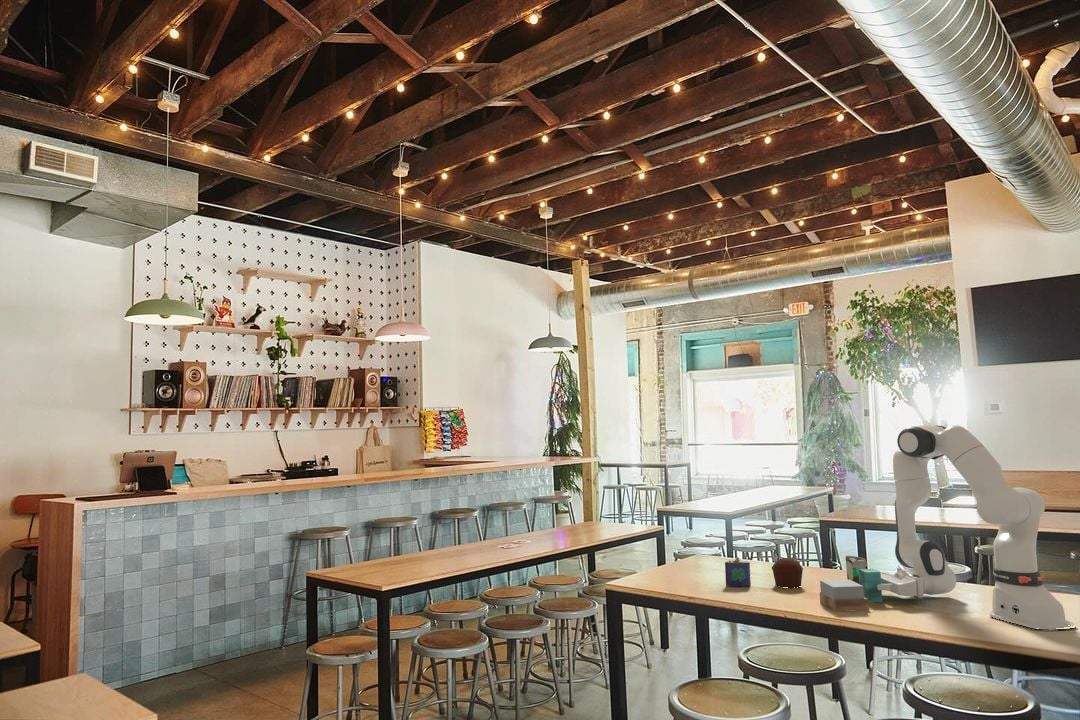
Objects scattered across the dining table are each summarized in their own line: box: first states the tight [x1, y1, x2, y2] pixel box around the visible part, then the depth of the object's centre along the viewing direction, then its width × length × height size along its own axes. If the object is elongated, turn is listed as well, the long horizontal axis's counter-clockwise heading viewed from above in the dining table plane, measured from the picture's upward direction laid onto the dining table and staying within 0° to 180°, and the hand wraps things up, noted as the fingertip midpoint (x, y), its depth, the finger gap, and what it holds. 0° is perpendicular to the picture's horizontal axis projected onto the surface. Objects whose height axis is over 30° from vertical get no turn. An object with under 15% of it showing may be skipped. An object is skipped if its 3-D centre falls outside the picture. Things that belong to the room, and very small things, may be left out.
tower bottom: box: [819, 591, 870, 612], centre depth 236 cm, size 11×11×4 cm
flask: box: [724, 556, 752, 588], centre depth 267 cm, size 9×3×11 cm, turn 88°
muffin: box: [771, 557, 804, 589], centre depth 266 cm, size 12×11×10 cm
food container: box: [845, 555, 868, 584], centre depth 263 cm, size 12×6×10 cm, turn 168°
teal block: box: [859, 568, 883, 603], centre depth 243 cm, size 5×5×10 cm
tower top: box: [819, 579, 864, 600], centre depth 236 cm, size 10×10×4 cm
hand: (868, 583), depth 243 cm, fingers open, 8 cm apart
